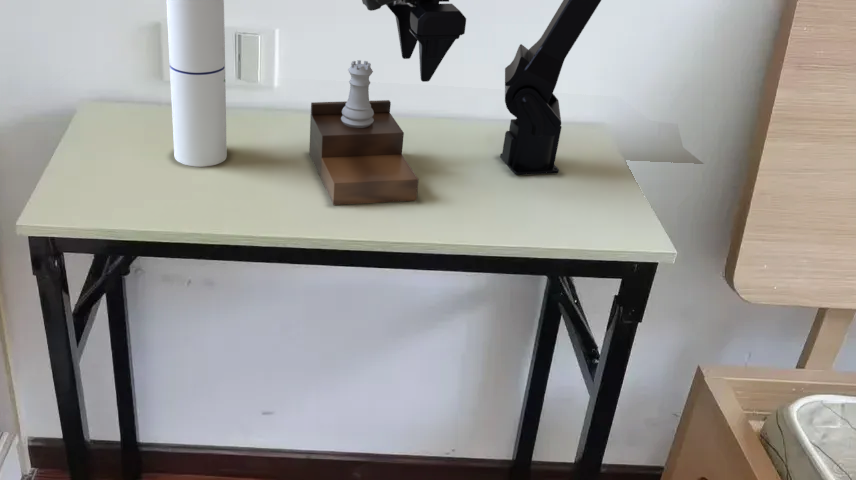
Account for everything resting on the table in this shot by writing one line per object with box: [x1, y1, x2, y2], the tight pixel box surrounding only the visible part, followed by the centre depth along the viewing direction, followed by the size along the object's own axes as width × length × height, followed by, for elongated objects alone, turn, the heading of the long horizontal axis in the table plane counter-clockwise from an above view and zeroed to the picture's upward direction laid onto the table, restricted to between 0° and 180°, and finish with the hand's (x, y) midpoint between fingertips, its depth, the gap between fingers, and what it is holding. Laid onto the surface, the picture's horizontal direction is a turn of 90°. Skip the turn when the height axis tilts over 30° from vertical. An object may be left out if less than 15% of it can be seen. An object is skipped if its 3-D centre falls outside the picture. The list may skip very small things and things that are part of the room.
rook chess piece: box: [341, 59, 374, 128], centre depth 127 cm, size 4×4×8 cm
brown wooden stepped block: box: [308, 99, 419, 206], centre depth 127 cm, size 11×16×8 cm
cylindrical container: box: [165, 0, 228, 168], centre depth 125 cm, size 7×7×25 cm
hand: (415, 69), depth 130 cm, fingers open, 9 cm apart
